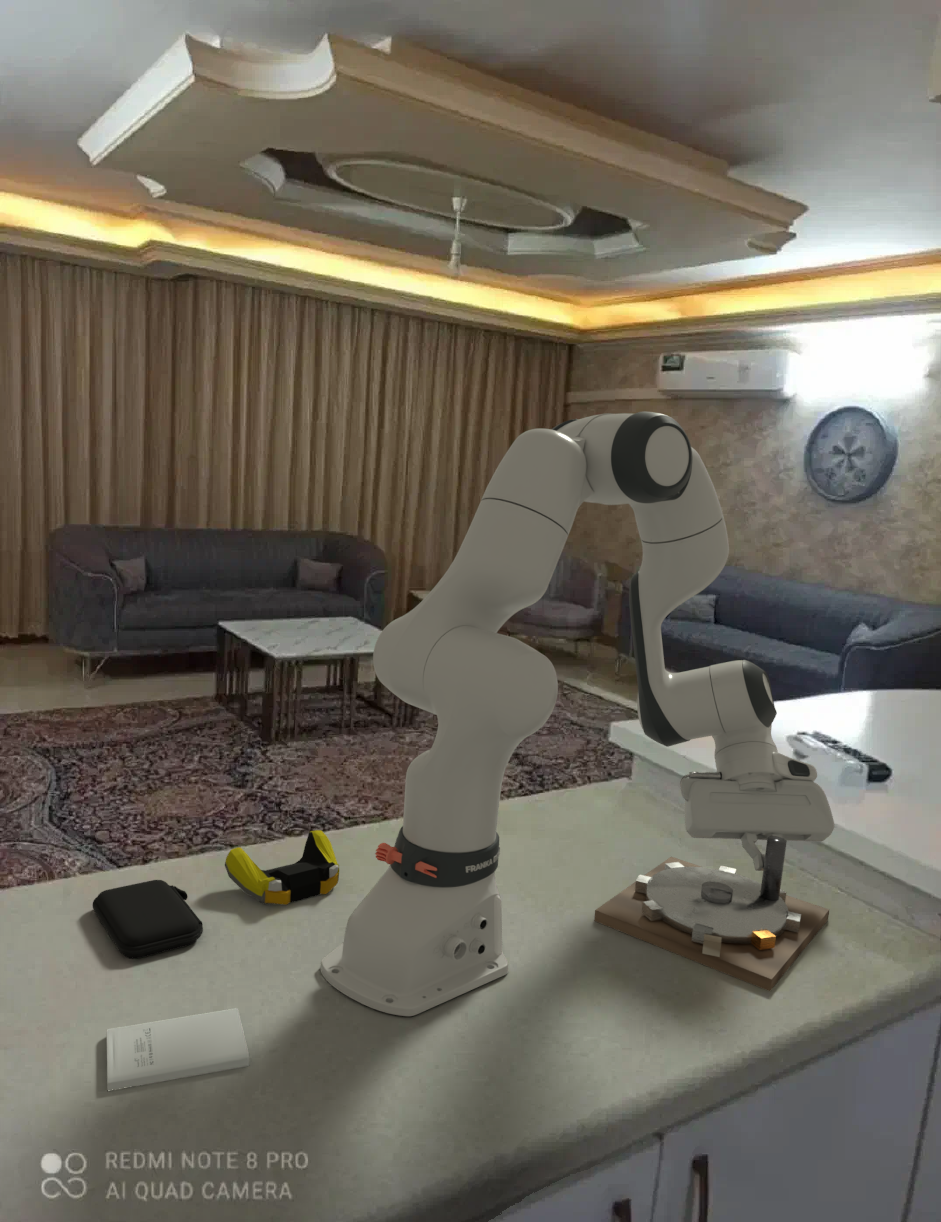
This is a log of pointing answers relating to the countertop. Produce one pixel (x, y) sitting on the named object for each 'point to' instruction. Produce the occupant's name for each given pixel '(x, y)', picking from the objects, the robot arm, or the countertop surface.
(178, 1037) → the external hard drive
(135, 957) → the carrying case or bag
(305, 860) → the gaming controller
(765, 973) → the sprocket base
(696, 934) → the sprocket
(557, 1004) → the countertop surface
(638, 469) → the robot arm
